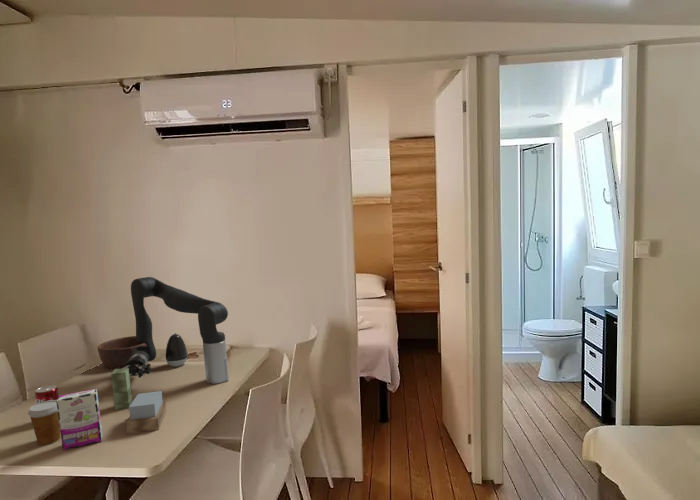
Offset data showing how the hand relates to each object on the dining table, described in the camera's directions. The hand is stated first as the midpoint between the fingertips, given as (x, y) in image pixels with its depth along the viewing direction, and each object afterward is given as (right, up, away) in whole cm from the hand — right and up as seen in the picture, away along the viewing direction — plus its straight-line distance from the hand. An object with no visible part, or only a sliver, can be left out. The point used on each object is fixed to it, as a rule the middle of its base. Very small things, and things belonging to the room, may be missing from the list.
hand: (128, 376), depth 193 cm
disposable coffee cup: (-10, -12, -35) cm, 38 cm away
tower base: (+19, -10, -26) cm, 33 cm away
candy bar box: (+3, -11, -38) cm, 40 cm away
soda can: (-20, -11, -19) cm, 29 cm away
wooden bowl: (-22, -6, +48) cm, 53 cm away
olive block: (+3, -9, -10) cm, 14 cm away
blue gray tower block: (+19, -5, -26) cm, 33 cm away
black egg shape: (+6, -5, +38) cm, 39 cm away
